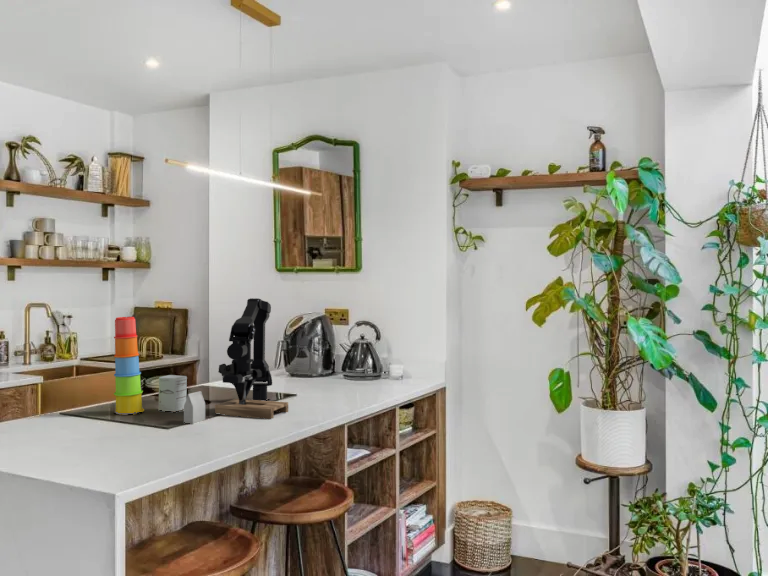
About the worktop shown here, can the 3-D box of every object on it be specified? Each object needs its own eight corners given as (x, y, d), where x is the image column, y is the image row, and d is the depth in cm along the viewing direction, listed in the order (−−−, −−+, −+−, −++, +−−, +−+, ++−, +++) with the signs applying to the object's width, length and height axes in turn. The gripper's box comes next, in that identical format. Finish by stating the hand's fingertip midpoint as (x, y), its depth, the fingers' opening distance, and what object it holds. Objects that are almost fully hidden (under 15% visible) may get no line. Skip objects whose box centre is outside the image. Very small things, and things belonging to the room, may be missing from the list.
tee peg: (239, 410, 252) (239, 383, 252) (250, 411, 250) (251, 383, 250) (233, 412, 247) (233, 384, 247) (244, 413, 246) (244, 385, 246)
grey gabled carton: (205, 420, 234) (205, 391, 234) (192, 424, 228) (193, 394, 228) (196, 419, 236) (196, 390, 235) (183, 423, 229) (183, 393, 229)
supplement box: (157, 411, 249) (158, 377, 249) (170, 408, 256) (170, 374, 256) (174, 413, 247) (175, 378, 247) (187, 409, 254) (187, 375, 254)
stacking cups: (138, 415, 242) (138, 317, 241) (109, 415, 242) (109, 317, 241) (148, 410, 252) (148, 316, 252) (120, 410, 252) (120, 316, 252)
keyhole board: (235, 408, 257) (235, 398, 257) (288, 411, 251) (288, 402, 251) (215, 414, 244) (215, 405, 244) (270, 419, 238) (270, 408, 238)
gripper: (236, 353, 260) (235, 394, 260) (209, 358, 242) (209, 402, 242) (262, 354, 257) (262, 395, 257) (237, 359, 239) (237, 404, 239)
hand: (242, 399), depth 249 cm, fingers closed on tee peg, 2 cm apart
